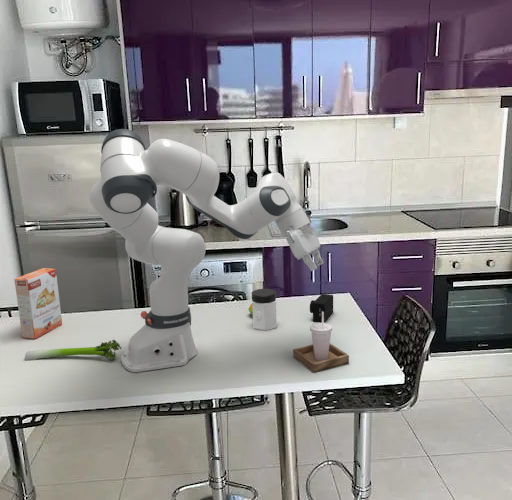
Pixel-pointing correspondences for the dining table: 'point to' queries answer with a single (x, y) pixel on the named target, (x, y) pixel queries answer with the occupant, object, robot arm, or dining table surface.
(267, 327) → the jar
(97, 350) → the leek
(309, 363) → the tray
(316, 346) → the smoothie
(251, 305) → the toy pineapple
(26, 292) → the cracker box
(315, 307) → the digital camera
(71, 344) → the dining table surface
